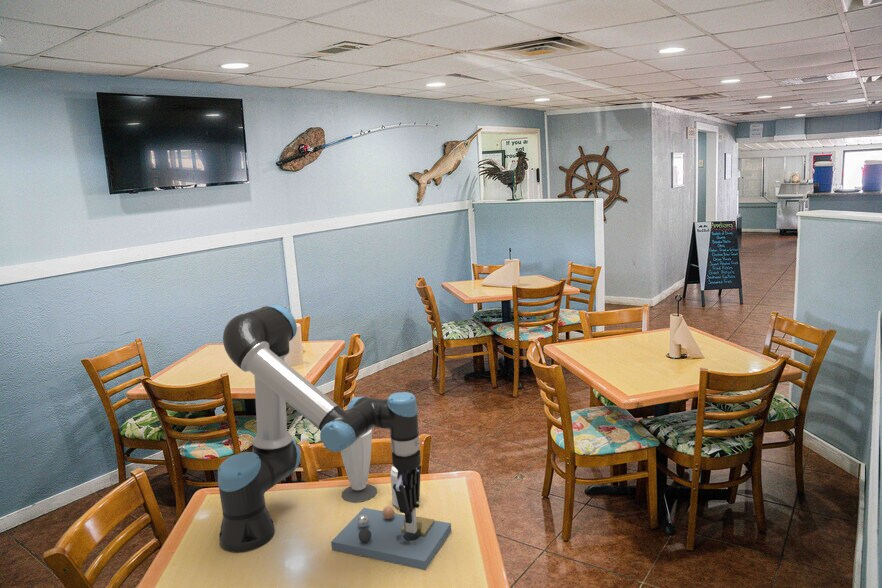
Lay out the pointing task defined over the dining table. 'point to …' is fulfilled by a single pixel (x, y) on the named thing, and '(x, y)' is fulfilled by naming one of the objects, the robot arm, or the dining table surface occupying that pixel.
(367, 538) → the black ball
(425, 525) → the brass cover
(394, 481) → the beverage can
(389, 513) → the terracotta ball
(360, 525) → the steel ball
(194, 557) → the dining table surface
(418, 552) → the grey flat board
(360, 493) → the cup
